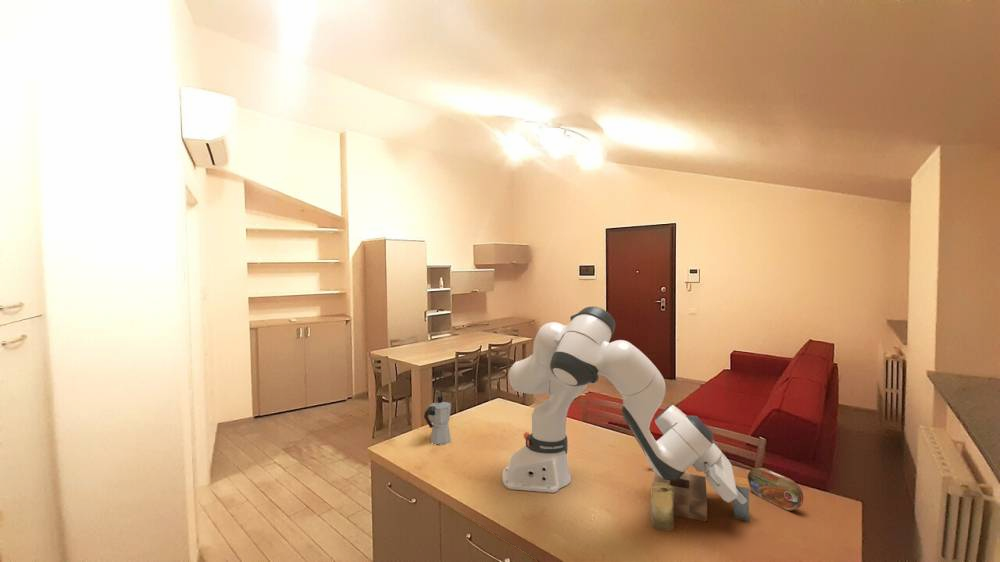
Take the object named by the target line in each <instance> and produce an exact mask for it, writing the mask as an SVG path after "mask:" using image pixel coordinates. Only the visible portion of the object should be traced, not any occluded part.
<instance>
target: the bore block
mask: <svg viewBox="0 0 1000 562" xmlns="http://www.w3.org/2000/svg"><path fill="white" fill-rule="evenodd" d="M652 482H653V483H655V482H663V483H667V484H669V485H671V486H672V487H673V488H674V516H677V517H683V518H686V519H692V520H696V521H701V522H705V521H707V522H708V493H707V479H706V476H704V475H697V474H691V473H687V472H684V474H683V475H682V476H681V477H680V478H679V479H678V480H664V479H663V478H661V477H660V476H659V475H657V474H656V473H655V472H654V477H653V481H652ZM653 483H652V484H653Z"/></svg>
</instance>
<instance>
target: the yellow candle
mask: <svg viewBox="0 0 1000 562" xmlns="http://www.w3.org/2000/svg"><path fill="white" fill-rule="evenodd" d="M650 488H651V489H650V491H651V492H650V494H651V495H650V498H651V499H650V500H651V501H650V502H651V503H650V505H651V506H650V516H651V517H650V518H651V519H650V520H651V521H650V523H651V525H652V527H654V528H655V529H657V530H660V531H671V530H673V529H674V528H675V527H674V526H675V523H674V516H675V515H674V488H673V487H672V486H671V485H669V484H667V483H663V482H655V483H651V487H650Z"/></svg>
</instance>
